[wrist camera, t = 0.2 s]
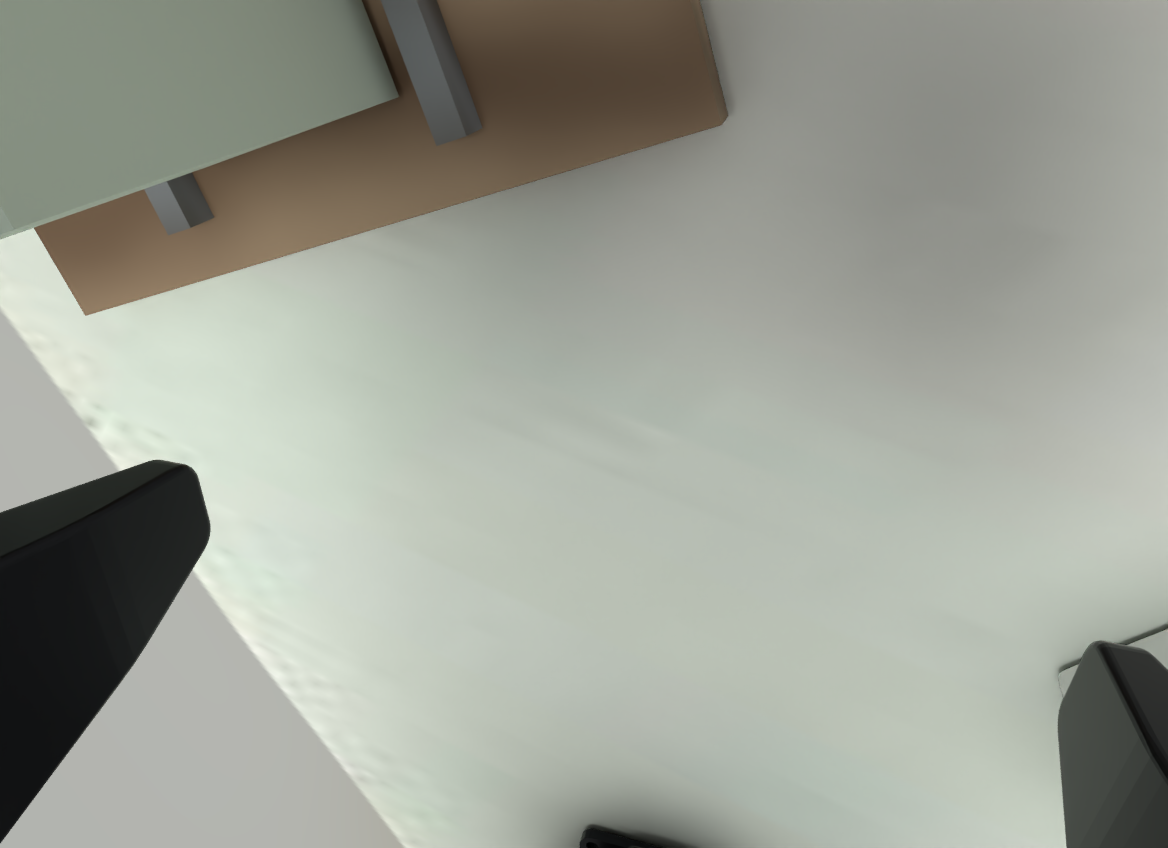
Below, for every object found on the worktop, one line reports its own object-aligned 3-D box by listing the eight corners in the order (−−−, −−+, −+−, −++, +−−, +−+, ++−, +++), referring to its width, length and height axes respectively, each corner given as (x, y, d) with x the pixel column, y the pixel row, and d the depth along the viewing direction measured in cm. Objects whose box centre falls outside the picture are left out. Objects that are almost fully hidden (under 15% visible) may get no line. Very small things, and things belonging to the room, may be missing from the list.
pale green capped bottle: (406, 115, 20) (-112, 320, 9) (215, 184, 23) (-384, 412, 12) (327, -89, 19) (-423, -131, 8) (128, 6, 21) (-670, 78, 10)
